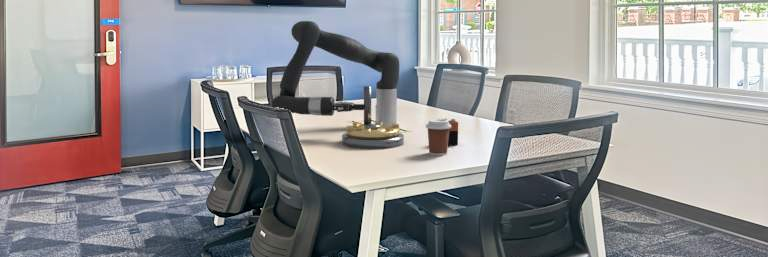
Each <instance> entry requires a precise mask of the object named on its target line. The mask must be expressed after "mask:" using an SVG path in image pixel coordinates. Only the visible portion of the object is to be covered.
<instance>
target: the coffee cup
mask: <svg viewBox="0 0 768 257" xmlns="http://www.w3.org/2000/svg"><path fill="white" fill-rule="evenodd" d="M444 119H445V118H436V119H435V118H434V119H429V120H428V123H427V124H425V128H426V129H427V139H428V152H429V153H428V154H429V155H431V156H446V155H448V146H449V145H448V139H449V129H450V128H451V125H450V124H449V121H450V120H448V119H447V120H444Z"/></svg>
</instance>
